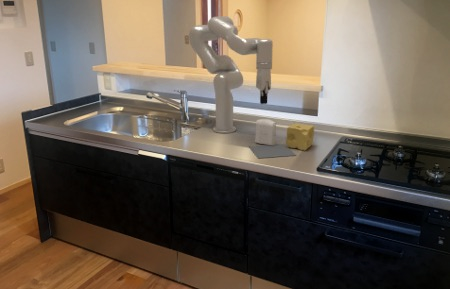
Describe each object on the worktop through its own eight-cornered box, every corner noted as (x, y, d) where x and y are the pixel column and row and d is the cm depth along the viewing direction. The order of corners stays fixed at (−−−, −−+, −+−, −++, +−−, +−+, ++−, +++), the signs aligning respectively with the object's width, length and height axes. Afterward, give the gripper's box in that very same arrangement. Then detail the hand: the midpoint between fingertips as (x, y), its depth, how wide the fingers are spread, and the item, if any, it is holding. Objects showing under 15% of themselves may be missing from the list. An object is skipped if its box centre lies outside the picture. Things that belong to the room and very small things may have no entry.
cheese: (305, 151, 189) (307, 130, 185) (284, 146, 194) (285, 126, 191) (313, 145, 197) (315, 125, 194) (292, 141, 202) (294, 122, 199)
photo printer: (276, 144, 198) (277, 119, 194) (272, 146, 194) (273, 121, 191) (258, 141, 203) (258, 117, 199) (254, 143, 200) (254, 119, 196)
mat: (249, 147, 195) (249, 146, 194) (284, 144, 198) (284, 143, 198) (258, 158, 180) (258, 158, 180) (296, 155, 183) (296, 155, 183)
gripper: (252, 64, 198) (252, 100, 204) (261, 68, 184) (260, 107, 190) (267, 63, 199) (266, 100, 205) (276, 67, 186) (275, 106, 191)
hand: (263, 103), depth 198 cm, fingers closed
